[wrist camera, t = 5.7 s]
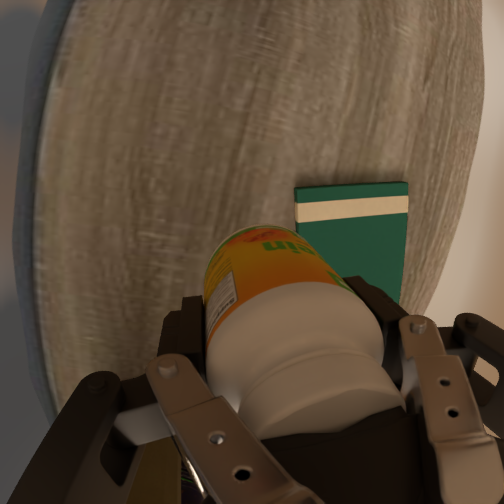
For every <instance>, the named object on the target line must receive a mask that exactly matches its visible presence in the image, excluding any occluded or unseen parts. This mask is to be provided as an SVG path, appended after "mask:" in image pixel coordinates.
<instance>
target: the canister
mask: <svg viewBox="0 0 504 504" xmlns="http://www.w3.org/2000/svg"><path fill="white" fill-rule="evenodd" d="M126 504H181V457H180V455H179V453H178V451H177V449H176V447H175V446H174V444H173V442H172V440H171V438H170V437H166V438H163V439H160V440H156V441H153V442H149V443H147V444H146V447H145V450H144V453H143V456H142V459H141V461H140V464H139V467H138V470H137V473H136V476H135V478H134V481H133V484H132V487H131V490H130V493H129V496H128V499H127V502H126Z"/></svg>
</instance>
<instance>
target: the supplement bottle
mask: <svg viewBox="0 0 504 504" xmlns="http://www.w3.org/2000/svg"><path fill="white" fill-rule="evenodd" d="M204 328H205V368H206V379H207V385H208V387H209V389H210V390H211V391H212V393H213V394H214V396H215V397H217V396H219V395H222V396H223V397H224V398H225V399H226V400H227V401H228V402H229V404H230V405H231V406H232V407H233V409H234V410H235V411H236V412H237V414H238V415H239V416H240V417H241V419H242V420H243V421H244V422H245V424H246V425H247V426H248V427H249V428H250V430H251V431H252V432H253V433H254V434H255V436H256V437H257V438H258V439H259V440H264V439H270V438H276V437H282V436H287V435H292V434H298V433H333V432H340V431H342V430H344V429H346V428H348V427H350V426H352V425H354V424H356V423H358V422H359V421H361V420H363V419H365V418H367V417H368V416H370V415H373V414H376V413H379V412H382V411H386V410H389V409H392V408H395V407H397V406H400V405H401V406H402V408H403V409H404V410H405V412H406V404H405V401H404V399H403V397H402V395H401V393H400V392H399V390H398V389H397V388H396V386H395V384H394V383H393V381H392V380H391V378H390V377H389V375H388V374H387V372H386V371H385V370H384V369H383V368H382V367H381V365H382V362H383V356H384V342H383V336H382V332H381V329H380V326H379V324H378V322H377V320H376V318H375V316H374V315H373V313H372V312H371V311H370V309H369V308H368V307H367V306H366V305H365V303H364V302H363V301H362V300H361V299H360V298H359V297H358V296H357V295H356V293H355V292H354V291H353V290H352V289H351V288H350V287H349V286H348V285H347V284H346V283H345V282H344V281H343V279H342V278H341V277H340V276H339V275H338V274H337V273H336V272H335V271H334V270H333V269H332V268H331V267H330V266H329V264H328V263H327V262H326V261H325V260H324V259H323V258H322V257H321V256H320V255H319V254H318V253H317V251H316V250H315V249H314V248H313V247H312V246H311V245H310V244H309V243H308V242H307V241H306V240H305V239H304V238H303V237H301V236H300V235H299V234H297V233H296V232H294V231H293V230H291V229H289V228H286V227H283V226H280V225H274V224H256V225H251V226H247V227H244V228H242V229H239V230H237V231H235V232H234V233H232V234H231V235H229V236H228V237H227V238H225V239H224V240H223V241H222V242H221V243H220V244H219V246H218V247H217V248H216V249H215V251H214V252H213V254H212V256H211V257H210V259H209V262H208V264H207V268H206V272H205V281H204Z"/></svg>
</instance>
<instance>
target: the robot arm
mask: <svg viewBox="0 0 504 504" xmlns="http://www.w3.org/2000/svg"><path fill="white" fill-rule="evenodd" d="M342 279H343V281H344V282H345V283H346V284H347V285H348V286H349V287H350V288H351V289H352V290H353V291H354V292H355V293H356V295H357V296H358V297H359V298H360V299H361V300H362V301H363V302H364V303H365V305H366V306H367V307H368V308H369V309H370V311H371V312H372V313H373V315H374V316H375V318H376V320H377V322H378V324H379V326H380V329H381V332H382V336H383V342H384V356H383V362H382V365H381V367H382V368H383V369H384V370H385V371H386V372H387V374H388V375H389V377H390V378H391V380H392V381H393V383H394V384H395V386H396V388H397V389H398V390H399V392H400V393H401V395H402V397H403V399H404V401H405V404H406V412H405V410H404V409H403V408H402V406H401V405H400V406H397V407H395V408H392V409H389V410H386V411H382V412H379V413H376V414H373V415H370V416H368V417H367V418H365V419H363V420H361V421H359V422H358V423H356V424H354V425H352V426H350V427H348V428H346V429H344V430H342V431H340V432H333V433H298V434H292V435H287V436H282V437H276V438H270V439H264V440H259V439H258V438H257V437H256V436H255V434H254V433H253V432H252V431H251V430H250V428H249V427H248V426H247V425H246V424H245V422H244V421H243V420H242V419H241V417H240V416H239V415H238V414H237V412H236V411H235V410H234V409H233V407H232V406H231V405H230V404H229V402H228V401H227V400H226V399H225V398H224V397H223V396H222V395H219V396H217V397H215V396H214V394H213V393H212V391H211V390H210V389H209V387H208V385H207V379H206V368H205V328H204V304H203V298H202V295H200V296H191V297H183V300H182V308H181V310H178V311H170V313H169V314H168V315H167V316H166V317H165V318H164V321H163V326H162V331H161V336H160V342H159V347H158V352H157V357H156V358H154V359H153V360H151V361H150V362H149V363H148V364H147V366H146V369H145V374H143V375H141V376H139V377H136V378H132V379H129V380H125V381H120V379H119V377H118V376H117V375H116V374H115V373H113V372H109V371H98V372H94V373H92V374H89V375H88V376H86V377H85V378H83V379H82V380H81V382H80V383H79V384H78V386H77V387H76V389H75V390H74V392H73V393H72V395H71V396H70V398H69V399H68V401H67V403H66V404H65V406H64V407H63V409H62V410H61V412H60V413H59V415H58V417H57V418H56V420H55V421H54V423H53V424H52V426H51V428H50V429H49V431H48V433H47V434H46V436H45V437H44V439H43V441H42V442H41V444H40V446H39V448H38V449H37V451H36V452H35V454H34V456H33V458H32V459H31V461H30V463H29V464H28V466H27V468H26V469H25V471H24V473H23V475H22V477H21V478H20V480H19V482H18V484H17V485H16V487H15V489H14V491H13V493H12V495H11V497H10V498H9V500H8V502H7V504H126V502H127V499H128V496H129V493H130V490H131V487H132V484H133V481H134V478H135V476H136V473H137V470H138V467H139V464H140V461H141V459H142V456H143V453H144V450H145V447H146V444H147V443H149V442H153V441H156V440H160V439H163V438H166V437H170V438H171V440H172V442H173V444H174V446H175V447H176V449H177V451H178V453H179V455H180V457H181V459H182V461H183V462H184V464H185V466H186V468H187V470H188V471H189V473H190V475H191V477H192V479H193V481H194V483H195V485H196V486H197V488H198V490H199V492H200V493H201V495H202V497H203V498H204V500H203V501H202V502H201V504H504V330H503V329H501V328H499V327H498V326H496V325H494V324H493V323H491V322H489V321H488V320H486V319H484V318H483V317H481V316H479V315H476V314H473V313H462V314H459V315H457V316H456V318H455V321H454V325H453V327H437V326H436V324H435V322H434V321H432V320H431V319H429V318H427V317H425V316H421V315H409V314H408V313H407V312H406V311H405V310H404V309H403V308H402V307H400V306H399V305H398V304H397V303H396V302H394V300H393V299H392V298H391V297H389V295H388V294H387V293H385V292H384V291H383V290H382V289H380V288H378V287H376V286H373V285H369V284H368V283H367V282H366V281H365V280H364V279H363V278H362V277H361V276H359V275H357V276H350V277H343V278H342ZM478 357H481V358H482V359H484V360H485V361H487V362H488V363H489V364H491V365H492V366H494V367H495V368H496V369H497V370H498V372H499V381H498V383H497V385H496V386H494V385H492V384H491V383H490V382H489V381H488V380H486V379H485V378H483V377H482V376H481V375H479V374H478V373H477V372H475V371H474V367H475V365H476V362H477V359H478ZM483 424H485V425H486V426H487V427H488V428H489V429H490V430H492V431H493V432H494V433H495V434H496V435H497V436H499V437H500V438H501V439H500V438H497V437H494V436H491V435H489V434H487V433H486V431H485V429H484V425H483Z"/></svg>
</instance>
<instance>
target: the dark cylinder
mask: <svg viewBox="0 0 504 504" xmlns="http://www.w3.org/2000/svg"><path fill="white" fill-rule="evenodd" d="M203 500H204V498H203V497H202V495H201V493H200V492H199V490H198V488H197V486H196V485H195V483H194V481H193V479H192V477H191V475H190V473H189V471H188V470H187V468H186V466H185V464H184V462H183V461H182V459H181V504H201V502H202V501H203Z"/></svg>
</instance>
